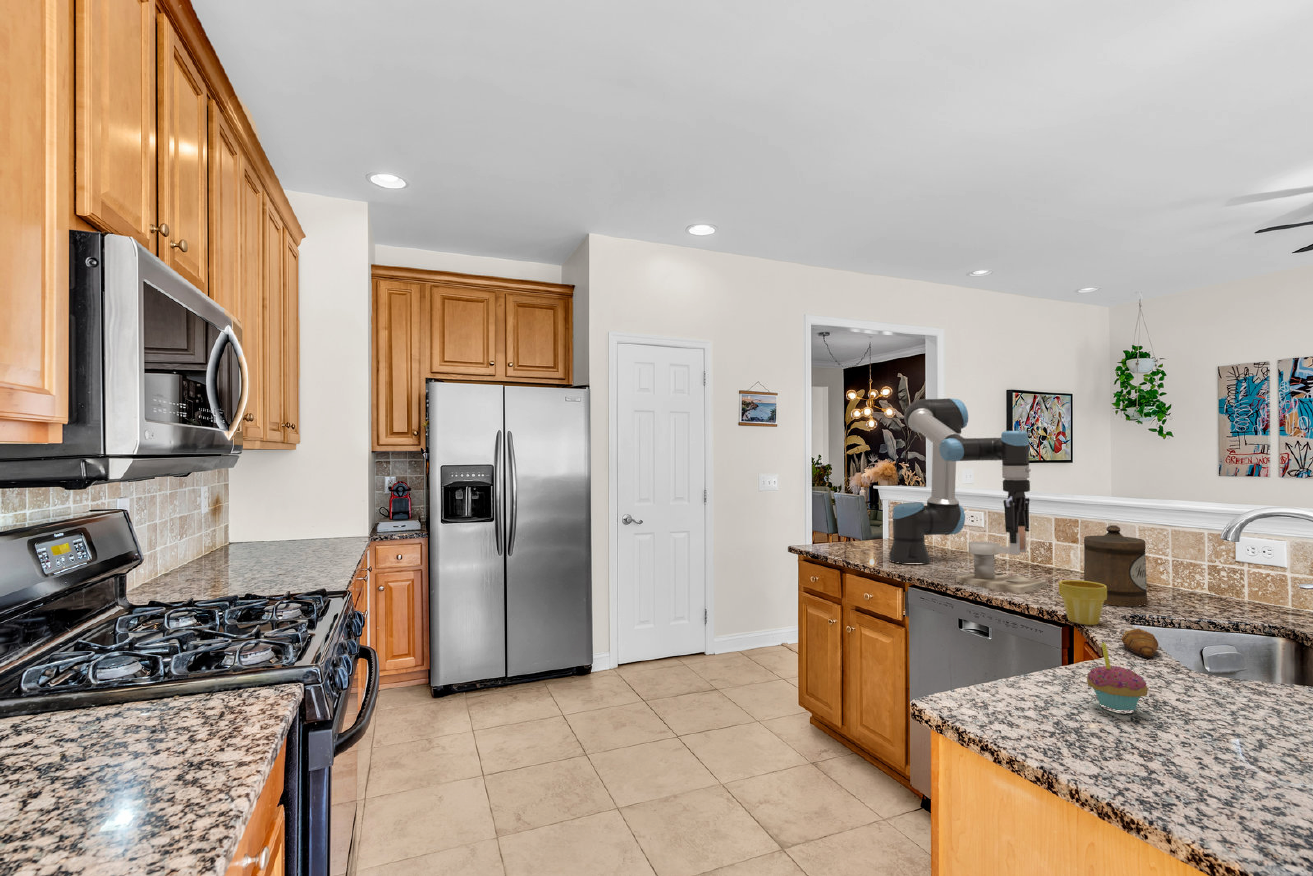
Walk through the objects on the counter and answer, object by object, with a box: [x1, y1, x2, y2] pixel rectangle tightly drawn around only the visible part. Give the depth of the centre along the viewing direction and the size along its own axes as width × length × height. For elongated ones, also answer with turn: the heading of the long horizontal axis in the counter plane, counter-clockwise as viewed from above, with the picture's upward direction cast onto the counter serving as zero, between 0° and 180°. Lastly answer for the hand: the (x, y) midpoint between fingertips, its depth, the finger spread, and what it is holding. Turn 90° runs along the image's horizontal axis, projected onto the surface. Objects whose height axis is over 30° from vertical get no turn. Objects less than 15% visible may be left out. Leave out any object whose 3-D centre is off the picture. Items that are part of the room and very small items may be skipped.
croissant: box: [1120, 628, 1159, 659], centre depth 141 cm, size 14×7×5 cm, turn 156°
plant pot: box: [1058, 579, 1107, 626], centre depth 164 cm, size 10×10×10 cm
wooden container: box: [1083, 524, 1148, 607], centre depth 185 cm, size 15×15×22 cm
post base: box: [955, 554, 1048, 595], centre depth 209 cm, size 21×16×10 cm
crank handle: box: [968, 526, 1026, 556], centre depth 208 cm, size 18×9×10 cm, turn 36°
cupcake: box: [1086, 638, 1149, 711], centre depth 110 cm, size 9×8×12 cm
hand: (1018, 552), depth 202 cm, fingers closed on crank handle, 4 cm apart
